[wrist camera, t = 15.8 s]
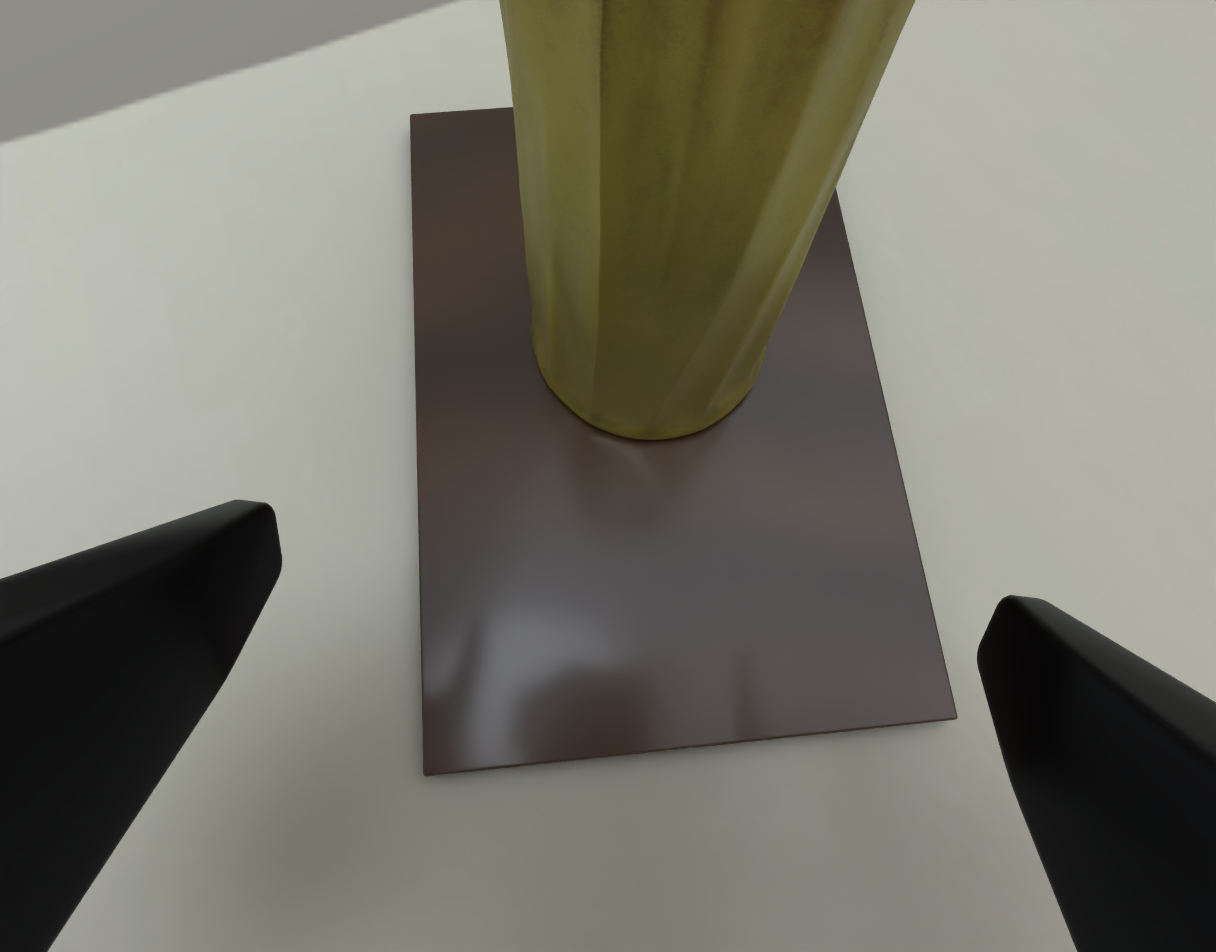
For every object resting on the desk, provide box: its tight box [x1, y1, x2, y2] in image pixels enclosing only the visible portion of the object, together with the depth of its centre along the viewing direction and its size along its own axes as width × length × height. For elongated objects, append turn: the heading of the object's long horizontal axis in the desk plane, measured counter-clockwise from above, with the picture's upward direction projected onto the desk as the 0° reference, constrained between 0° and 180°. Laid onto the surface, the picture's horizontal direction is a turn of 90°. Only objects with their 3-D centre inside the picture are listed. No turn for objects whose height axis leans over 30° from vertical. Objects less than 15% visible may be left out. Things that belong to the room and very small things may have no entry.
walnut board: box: [410, 107, 957, 776], centre depth 18 cm, size 18×12×1 cm, turn 6°
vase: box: [499, 0, 915, 440], centre depth 11 cm, size 6×6×14 cm
